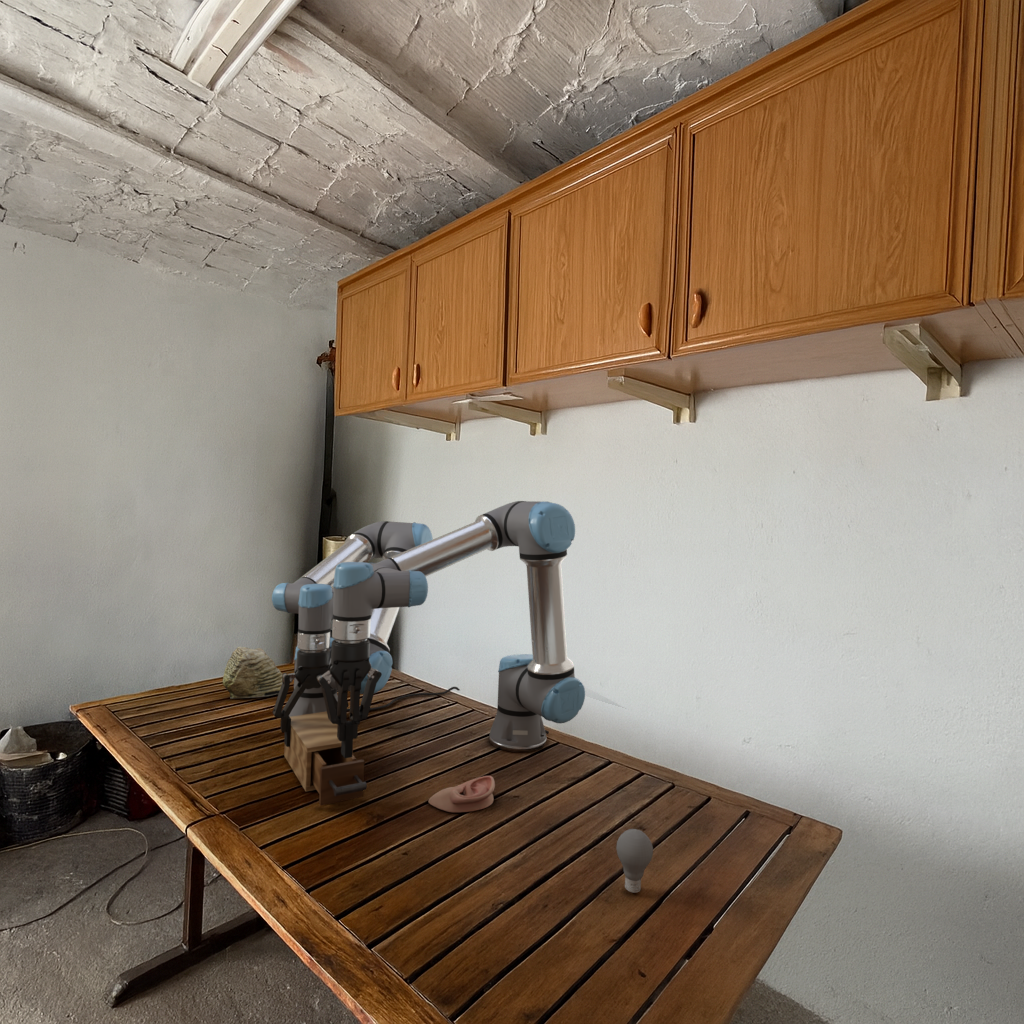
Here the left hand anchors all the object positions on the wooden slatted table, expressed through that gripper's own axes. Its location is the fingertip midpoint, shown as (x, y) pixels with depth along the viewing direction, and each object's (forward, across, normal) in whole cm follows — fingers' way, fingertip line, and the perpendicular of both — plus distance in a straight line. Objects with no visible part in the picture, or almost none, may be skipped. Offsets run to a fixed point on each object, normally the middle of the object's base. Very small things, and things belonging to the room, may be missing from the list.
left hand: (310, 741), depth 152 cm
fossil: (+4, -3, +56) cm, 56 cm away
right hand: (-7, 0, -28) cm, 29 cm away
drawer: (+3, 0, -19) cm, 19 cm away
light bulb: (+4, +34, -76) cm, 84 cm away
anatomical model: (+4, +23, -35) cm, 42 cm away
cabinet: (+4, 0, -6) cm, 8 cm away
